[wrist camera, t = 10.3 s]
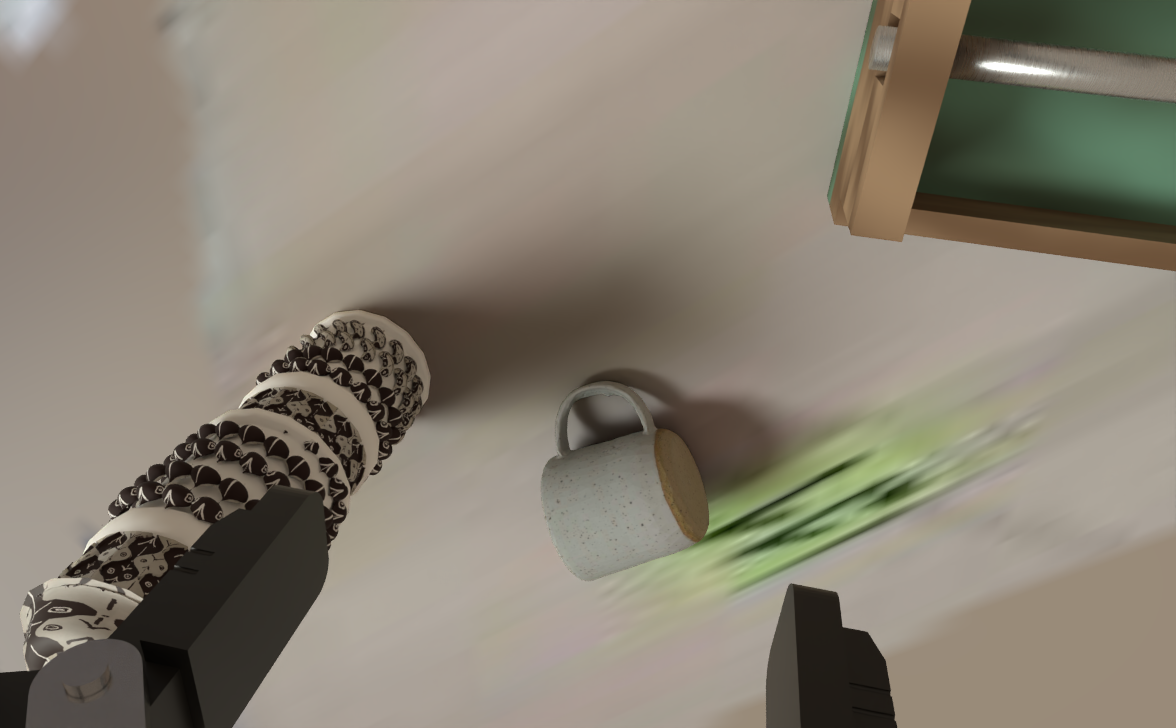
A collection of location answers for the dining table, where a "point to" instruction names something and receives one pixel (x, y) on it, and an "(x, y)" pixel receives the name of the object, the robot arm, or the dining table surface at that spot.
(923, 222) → the foosball field
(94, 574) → the decorative candle
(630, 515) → the ceramic mug
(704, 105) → the dining table surface
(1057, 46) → the kicker rod
